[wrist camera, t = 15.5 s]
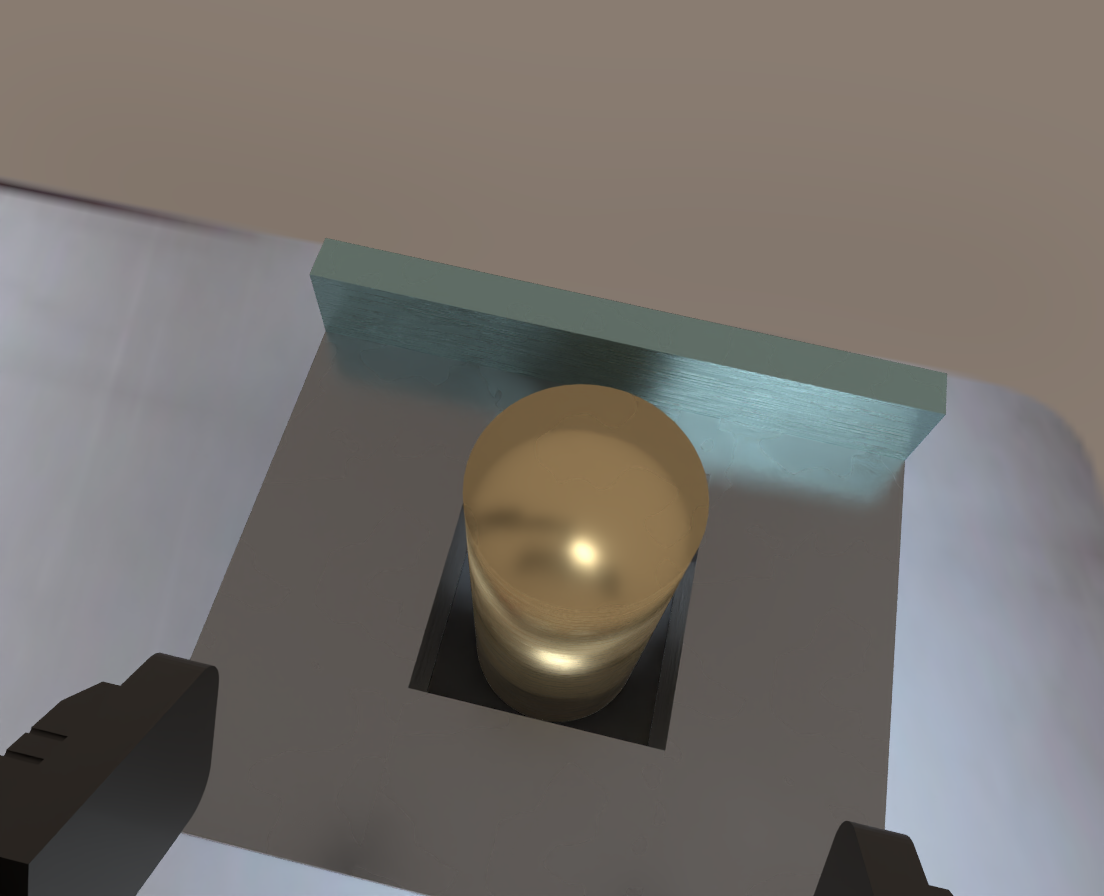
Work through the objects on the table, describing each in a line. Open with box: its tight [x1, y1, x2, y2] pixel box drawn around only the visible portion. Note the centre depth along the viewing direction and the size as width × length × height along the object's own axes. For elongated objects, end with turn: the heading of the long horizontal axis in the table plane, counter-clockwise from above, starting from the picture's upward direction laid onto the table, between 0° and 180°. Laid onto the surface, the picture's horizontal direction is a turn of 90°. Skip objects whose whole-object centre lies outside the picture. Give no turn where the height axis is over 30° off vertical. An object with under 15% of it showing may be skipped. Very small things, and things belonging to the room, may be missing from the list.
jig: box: [181, 238, 947, 896], centre depth 23 cm, size 16×14×6 cm
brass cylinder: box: [463, 384, 709, 722], centre depth 21 cm, size 4×4×10 cm
